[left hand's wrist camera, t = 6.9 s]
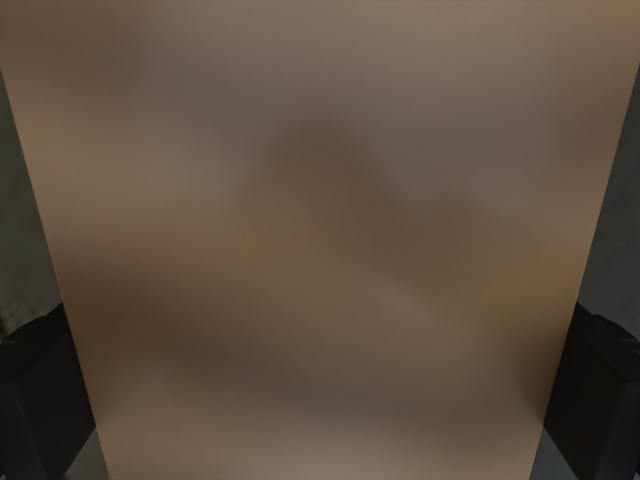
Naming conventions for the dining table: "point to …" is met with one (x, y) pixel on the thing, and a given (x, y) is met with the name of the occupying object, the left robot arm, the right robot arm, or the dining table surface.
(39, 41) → the cabinet
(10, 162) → the dining table surface
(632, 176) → the dining table surface
